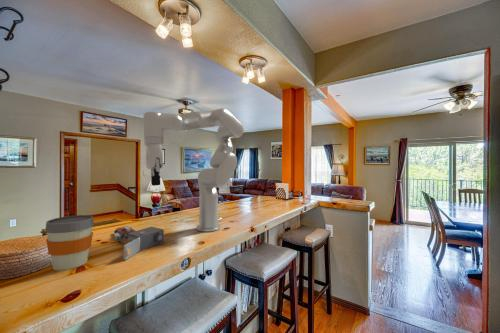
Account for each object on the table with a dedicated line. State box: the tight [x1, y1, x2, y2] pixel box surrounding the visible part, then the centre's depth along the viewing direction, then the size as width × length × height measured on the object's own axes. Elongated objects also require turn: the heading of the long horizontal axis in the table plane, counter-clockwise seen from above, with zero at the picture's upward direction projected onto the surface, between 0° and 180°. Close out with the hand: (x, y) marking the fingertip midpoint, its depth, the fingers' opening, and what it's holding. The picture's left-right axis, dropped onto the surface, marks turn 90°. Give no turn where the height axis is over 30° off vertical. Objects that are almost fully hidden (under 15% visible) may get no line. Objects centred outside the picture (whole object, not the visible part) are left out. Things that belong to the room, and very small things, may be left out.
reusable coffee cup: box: [44, 214, 95, 271], centre depth 73 cm, size 13×13×15 cm
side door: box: [123, 237, 141, 261], centre depth 80 cm, size 1×9×5 cm, turn 175°
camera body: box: [127, 226, 165, 252], centre depth 91 cm, size 11×10×6 cm
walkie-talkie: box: [113, 225, 136, 244], centre depth 100 cm, size 9×4×20 cm
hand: (155, 185), depth 93 cm, fingers closed
